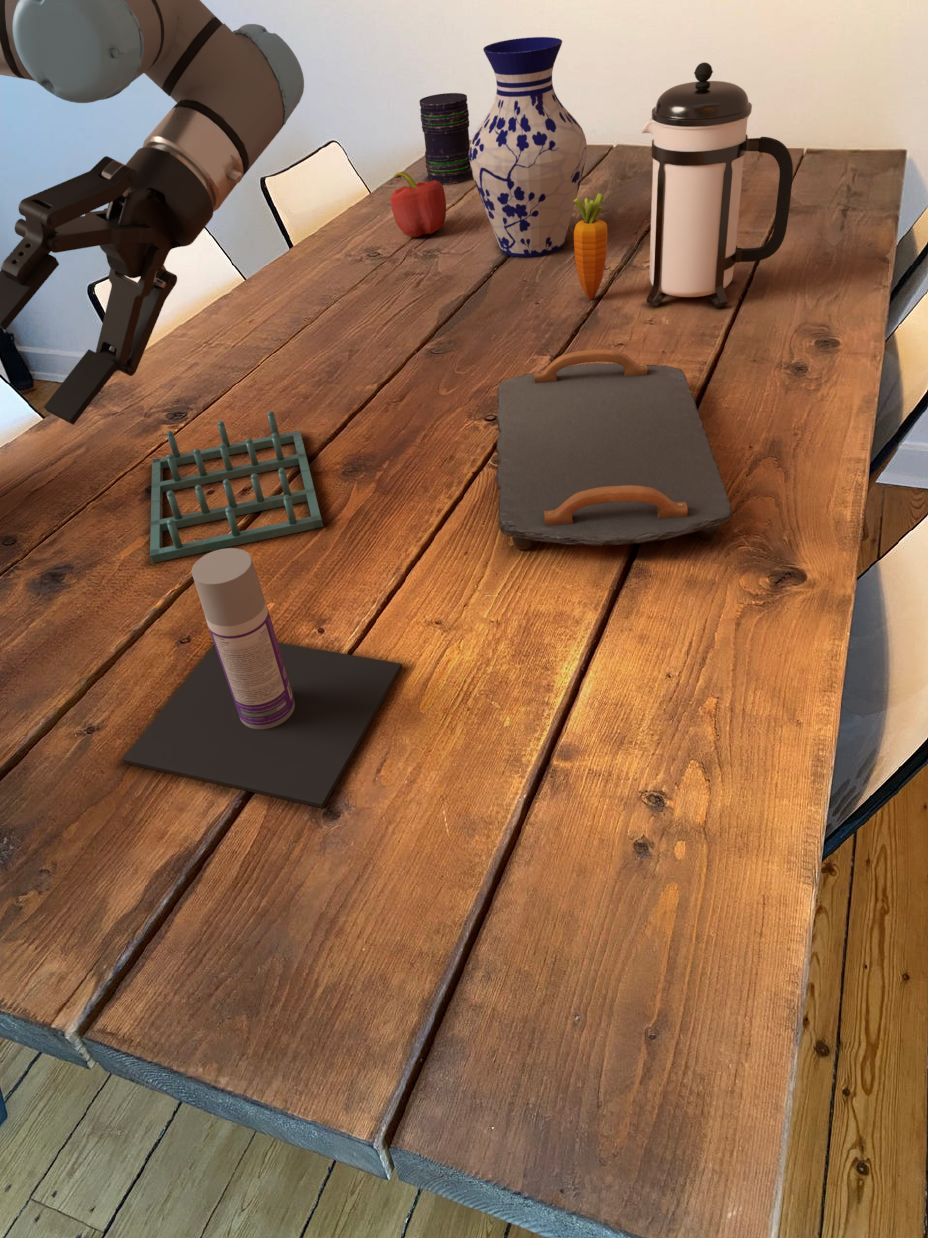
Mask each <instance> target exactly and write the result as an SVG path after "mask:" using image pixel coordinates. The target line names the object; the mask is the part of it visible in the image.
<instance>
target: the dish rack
mask: <svg viewBox="0 0 928 1238" xmlns="http://www.w3.org/2000/svg"><path fill="white" fill-rule="evenodd" d="M266 416H267V419H268V422H269V423H268V424H269V427H270V431H271V435H269V436H264V437H259V438H254V439H252V438H250V437H247V438H246V439H245V440H244V441H240V442H239V441H238V442H235V443H230V440H229V435H228V433H227V428H226V426H225V422H224V421H223V420H218V421H217V423H216V424H217V429H218V433H219V436H220V439H221V443H219V446H214V447H209V448H204V449H199V448H198V447H197V448H196V447H195V448H194V449H193V450H192V451H189V452H184V453H180V449H179V447H178V443H177V440H176V437H175V434H174V432H173V431H172V430H168V431H166V437H167V441H168V444H169V446H170V450H171V453H168V454H166V456H163V457H158V458H153V459H151V492H150V532H149V533H150V536H149V557H150V560H151V563H152V564H155V563H160V562H164V561H170V560H174V559H178V558H183V557H188V556H193V555H198V554H202V553H203V554H204V553H206V552H213V551H216V550H220V549H225V548H232V547H235V546H239V545H240V546H241V545H245V544H249V543H254V542H258V541H264V540H268V539H272V538H279V537H282V536H286V535H292V534H297V533H301V532H307V531H310V530H316V529H320V528H323V527H324V524H323V519H322V515H321V511H320V508H319V507H320V506H319V503H318V498H317V493H316V490H315V486H314V482H313V478H312V477H313V476H312V474H311V469H310V465H309V461H308V457H307V453H306V449H305V445H304V440H303V437H302V432H301V430H294V431H289V432H285V433H280V432H279V428H278V425H277V424H278V423H277V420H276V415H275V412H274V411H272V410H269V411H268V412H267V415H266ZM292 443H294V447H295V452H296V453H295V454H291V455H286V456H284V453H283V452H284V451H283V449H282V446H283V445H288V444H292ZM268 448H273V449H274V453H275V456H276V457H275V458H272V459H265V460H261V461H259V460H258V457H257V456H258V455H257V452H256V451H258V450H263V449H268ZM242 453H248V456H249V460H250V463H246V464H241V465H236V466H233V463H232V460H231V458H230V456H233V455H238V454H242ZM217 458H222V461H223V465H224V468H220V469H216V470H211V471H207V469H206V465H205V463H204V462H205V461H207V460H213V459H217ZM192 463H195V464H196V467H197V470H198V473H197V474H192V475H186V476H181V474H180V471H179V468H178V466H183V465H187V464H192ZM296 466H299V469H300V473H301V479H302V482H303V487H304V489H300V490H296V491H292V490H291V487H290V484H289V479H288V474H287V471H286V469H285V468H291V467H296ZM168 468H169V469H170V473H171V477H172V478H171V479H167V480H164V478H163V477H164V469H168ZM276 470H277V473H278V477H279V482H280V485H281V490H282V494H276V495H272V496H271V495H270V496H267V497H264V494H263V490H262V486H261V483H260V479H259V475H258V474H262V473H267V472H272V471H276ZM247 476H250V480H251V485H252V488H253V492H254V495H255V499H253V500H247V501H242V502H238V503H237V500H236V497H235V494H234V490H233V487H232V484H231V481H230V480H231V479H237V478H242V477H247ZM217 482H222V485H223V489H224V493H225V496H226V500H227V503H228V505H223V506H219V507H213V508H209V504H208V501H207V498H206V495H205V491H204V489H203V486H202V485H208V484H213V483H217ZM193 487H194V491H195V495H196V497H197V500H198V504H199V508H200V510H199V511H195V512H188V513H184V514H182V512H181V510H180V507H179V503H178V500H177V497H176V494H175V492H174V491H177V490H183V489H188V488H193ZM163 493H166V498H167V501H168V504H169V506H170V510H171V512H172V515H173V516H170V517H165V518H163V513H164V512H163V507H164V505H163V501H164V499H163V496H164V494H163ZM300 503H301V504H302V503H308V508H309V513H310V516H306V517H303V518H302V517H301V518H297V517H296V514H295V509H294V505H296V504H300ZM281 507H284V508H285V513H286V516H287V519H288V521H283V522H279V523H274V524H268V525H264V526H260V527H259V526H258V527H254V528H250V529H245V530H241V531H240V529H239V525H238V522H237V518H236V517H239V516H242V515H243V516H244V515H248V514H253V513H257V512H258V513H259V512H262V511H267V510H272V509H276V508H277V509H278V508H281ZM224 519H227V521H228V525H229V528H230V531H231V532H230V533H226V534H221V535H217V536H212V537H208V538H203V539H198V540H193V541H187V542H182V539H181V536H180V534H179V530H178V529H181V528H185V527H190V526H196V525H200V524H205V523H210V522H214V521H219V520H224ZM167 531H168V532H169V535H170V537H171V540H172V543H173V545H169V546H165V547H163V532H167Z"/></svg>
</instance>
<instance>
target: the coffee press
mask: <svg viewBox="0 0 928 1238" xmlns="http://www.w3.org/2000/svg"><path fill="white" fill-rule="evenodd" d="M713 73H714V70H713V67H712V66H711V64H710V63H709V62H701V63H699V64H697V66H696V68H695V70H694V72H693V74H694V77H695V79H696V80H697V81H691V82H686V83H685V82H684V83H682V84H681V83H680V84H678V85H677V84H676V85H674V86H671V87H670V88H668V89H667V90H665V91H664V92H662V94H660V96H659V97H658V99H657V101H656V104H655V106H654V107H652V109H651V116H650V117H649V118H648V120H646V122H645V124H644V125H643V127H642V128H641V130H640V133H641V134H652V136H653V139H652V140H651V158H652V177H651V179H652V182H651V209H650V212H651V213H650V239H649V240H650V241H649V273H648V274H649V275H648V277H649V282H650V284H651V286H652V288H651V289H650V290H649V291H650V292H649V293H648V295H647V297H646V301H645V302H646V304H647V305H649V306H651V307H653V308H657V307H658V306H660V305H661V303H662V301H663V300H664V299H665V298H667V297H668V296H673V297H680V298H698V297H704V296H706V297H708V298H709V299H710V301H711V303H712V305H713V307H714V308H715V309H720V308H724V307H726V306H727V305H728V298H727V295H726V292H725V289H726V288H727V287H728V286H729V285H730V283H731V282H732V280H733V277H734V269H735V264H736V263H749V262H750V263H752V262H759V261H763V260H766V259H768V258H770V257H772V256H773V255H774V254H775V253H776V252H777V251H779V249H780V247H781V245H782V244H783V242H784V240H785V236H786V233H787V228H788V223H789V213H790V205H791V197H792V188H793V175H794V166H793V164H794V163H793V159H792V155H791V153H790V151H789V149H788V148H787V146H786V145H785V144H784V142H782V141H780V140H778V139H777V138H773V137H770V136H769V137H768V136H760V137H753V138H752V137H751V138H749V136H748V134H747V127H748V119H749V117H750V115H751V114H752V109H753V108H752V107H753V104H752V103H751V102H750V101H749V97H748V94H747V92H746V91H745V90H744V89H743V88H742V87H740V86H739V85H737V84H735V83H732V82H727V81H721V80H710V79H711V77H712V75H713ZM747 152H758V153H764V154H768V155H769V156H772V157H773V158H774V160H775V161H776V163H777V165H778V171H779V180H778V188H777V196H776V198H777V199H776V206H775V216H774V222H773V230H772V234H771V236H770V238H769V240H768V241H767V242H766V243H764V244H763V245H761V246H757V247H747V248H745V247H744V248H742V247H738V245H737V239H738V238H737V237H738V227H739V217H740V205H741V194H742V183H743V171H744V163H745V162H744V160H745V156H746V153H747ZM658 292H659V294H658Z"/></svg>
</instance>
